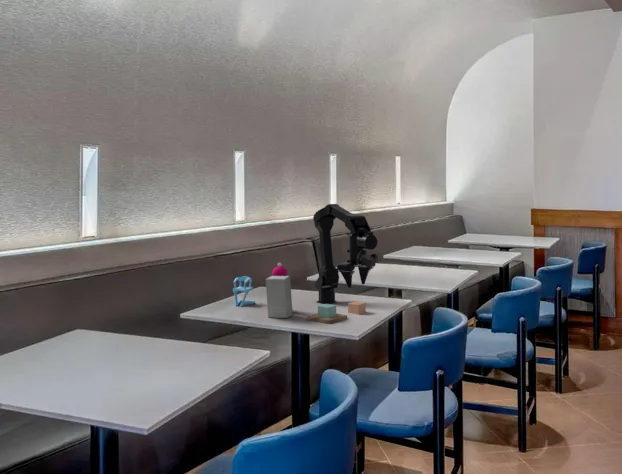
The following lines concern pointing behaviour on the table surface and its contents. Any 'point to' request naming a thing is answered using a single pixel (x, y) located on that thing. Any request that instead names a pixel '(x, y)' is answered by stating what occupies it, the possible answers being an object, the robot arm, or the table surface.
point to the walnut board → (327, 320)
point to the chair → (243, 289)
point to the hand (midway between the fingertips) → (356, 285)
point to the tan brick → (356, 307)
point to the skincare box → (279, 296)
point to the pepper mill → (279, 270)
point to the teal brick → (327, 310)
